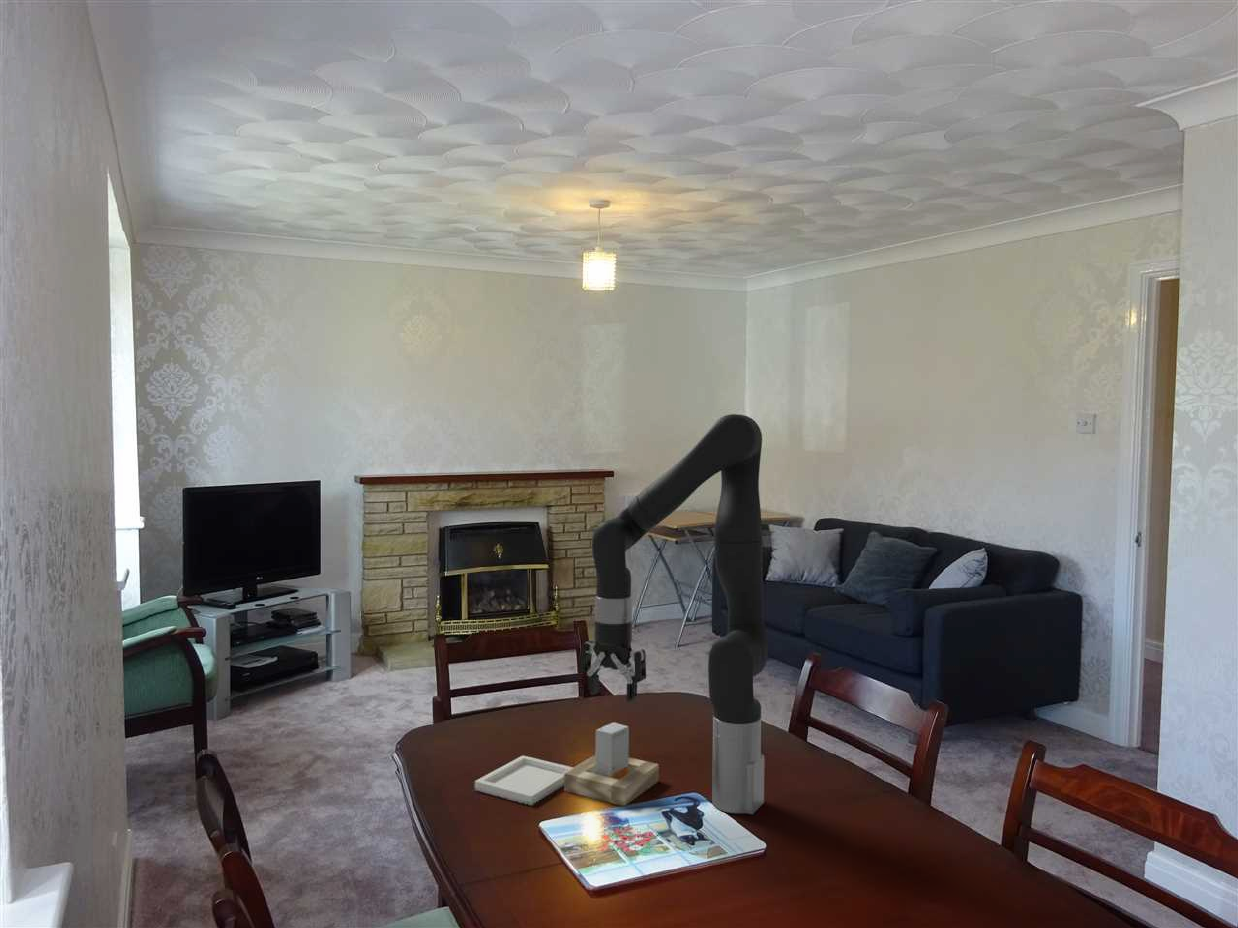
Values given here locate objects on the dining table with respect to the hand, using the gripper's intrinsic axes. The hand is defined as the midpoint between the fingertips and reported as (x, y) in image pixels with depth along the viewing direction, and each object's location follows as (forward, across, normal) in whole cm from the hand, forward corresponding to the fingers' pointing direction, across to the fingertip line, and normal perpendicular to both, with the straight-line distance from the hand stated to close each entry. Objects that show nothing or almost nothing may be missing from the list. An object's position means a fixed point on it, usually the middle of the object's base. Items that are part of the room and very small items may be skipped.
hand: (612, 697), depth 177 cm
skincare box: (+18, 0, 0) cm, 18 cm away
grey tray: (+18, +15, +8) cm, 25 cm away
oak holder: (+18, 0, 0) cm, 18 cm away
